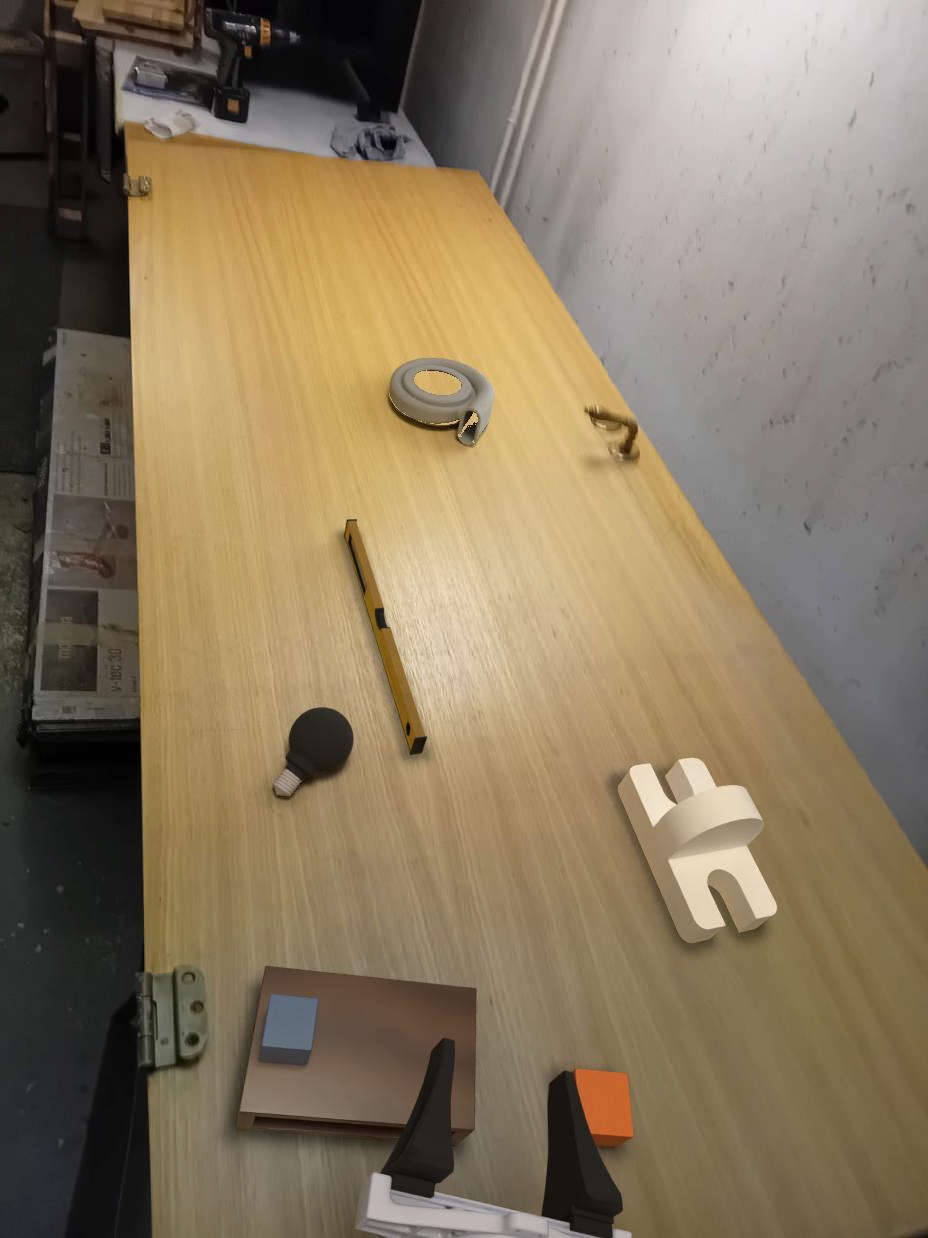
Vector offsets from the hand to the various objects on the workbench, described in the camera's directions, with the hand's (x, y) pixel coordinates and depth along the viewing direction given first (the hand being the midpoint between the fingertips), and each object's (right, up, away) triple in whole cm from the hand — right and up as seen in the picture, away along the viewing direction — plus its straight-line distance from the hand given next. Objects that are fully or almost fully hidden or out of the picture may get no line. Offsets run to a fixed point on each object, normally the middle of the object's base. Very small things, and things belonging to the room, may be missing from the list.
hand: (503, 1062), depth 48 cm
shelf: (-11, -10, +18) cm, 23 cm away
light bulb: (-18, +11, +35) cm, 41 cm away
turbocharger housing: (-6, +59, +83) cm, 102 cm away
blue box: (-16, -5, +13) cm, 21 cm away
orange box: (+8, -15, +20) cm, 26 cm away
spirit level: (-12, +24, +49) cm, 56 cm away
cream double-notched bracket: (+21, +1, +39) cm, 44 cm away
